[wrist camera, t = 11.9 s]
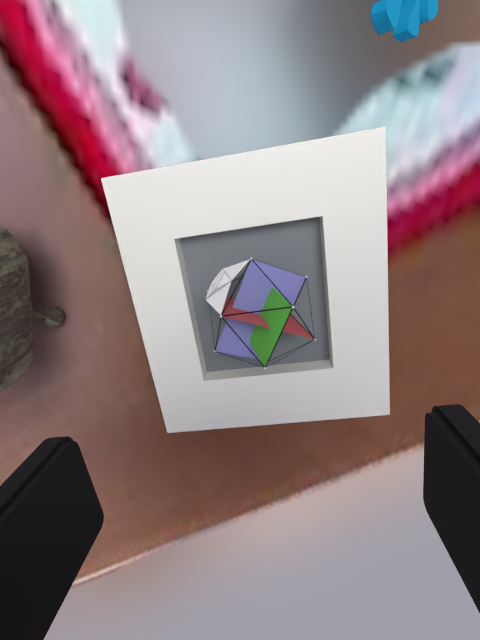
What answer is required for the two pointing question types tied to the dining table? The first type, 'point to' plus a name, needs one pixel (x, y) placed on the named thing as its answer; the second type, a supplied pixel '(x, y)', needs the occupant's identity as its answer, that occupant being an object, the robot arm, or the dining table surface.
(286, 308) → the geometric puzzle
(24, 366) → the tabletop clock
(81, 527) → the robot arm
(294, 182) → the square picture frame
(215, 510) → the dining table surface
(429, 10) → the gear
